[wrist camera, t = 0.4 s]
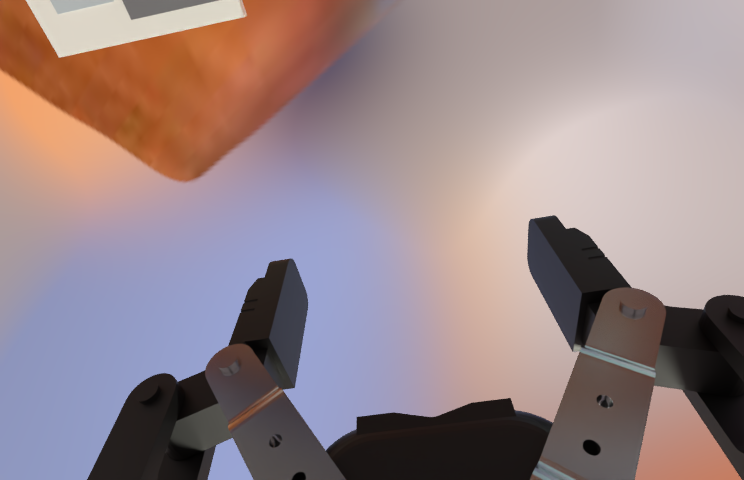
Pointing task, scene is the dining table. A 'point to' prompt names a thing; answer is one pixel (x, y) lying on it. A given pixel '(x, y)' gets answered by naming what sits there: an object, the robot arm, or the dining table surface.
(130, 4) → the button housing
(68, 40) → the picture board
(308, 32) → the dining table surface
